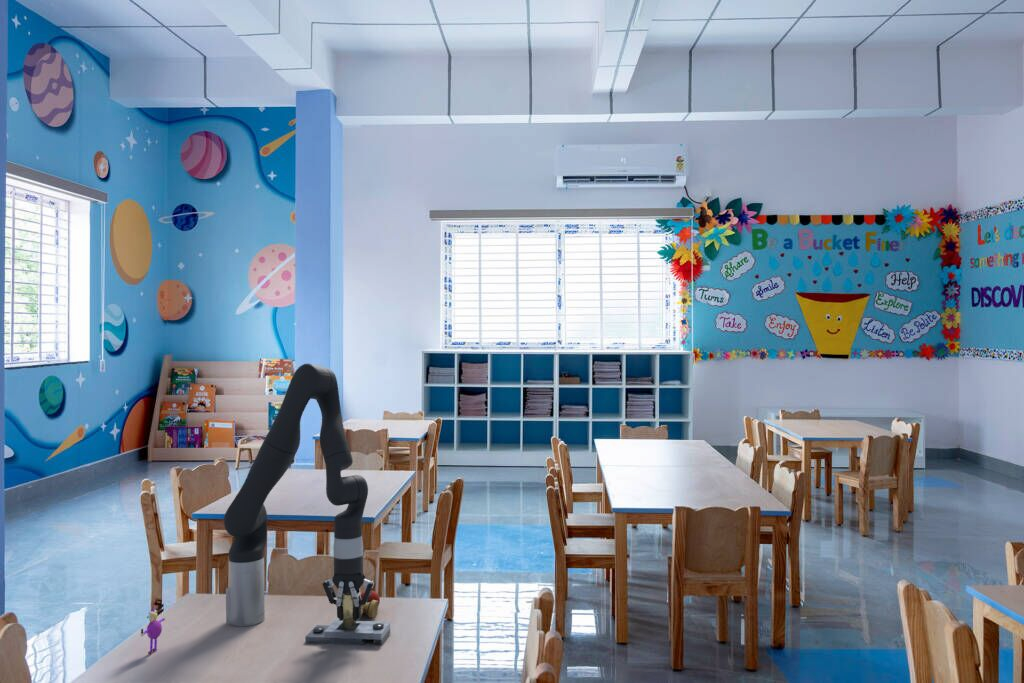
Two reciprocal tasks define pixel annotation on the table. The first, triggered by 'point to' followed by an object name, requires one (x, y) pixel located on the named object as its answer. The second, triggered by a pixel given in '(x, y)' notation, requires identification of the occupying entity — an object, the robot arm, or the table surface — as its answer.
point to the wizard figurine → (153, 627)
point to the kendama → (370, 605)
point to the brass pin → (348, 610)
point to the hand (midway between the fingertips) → (349, 619)
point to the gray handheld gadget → (350, 633)
